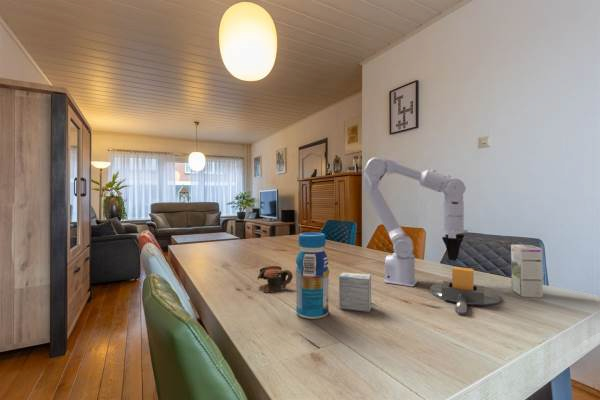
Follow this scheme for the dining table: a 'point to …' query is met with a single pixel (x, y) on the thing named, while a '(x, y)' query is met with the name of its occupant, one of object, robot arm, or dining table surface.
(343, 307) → the medicine box
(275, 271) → the pottery mug
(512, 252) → the syrup box
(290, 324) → the dining table surface
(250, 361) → the dining table surface
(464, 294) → the rosette joint
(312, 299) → the beverage bottle
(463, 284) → the orange rectangular block
